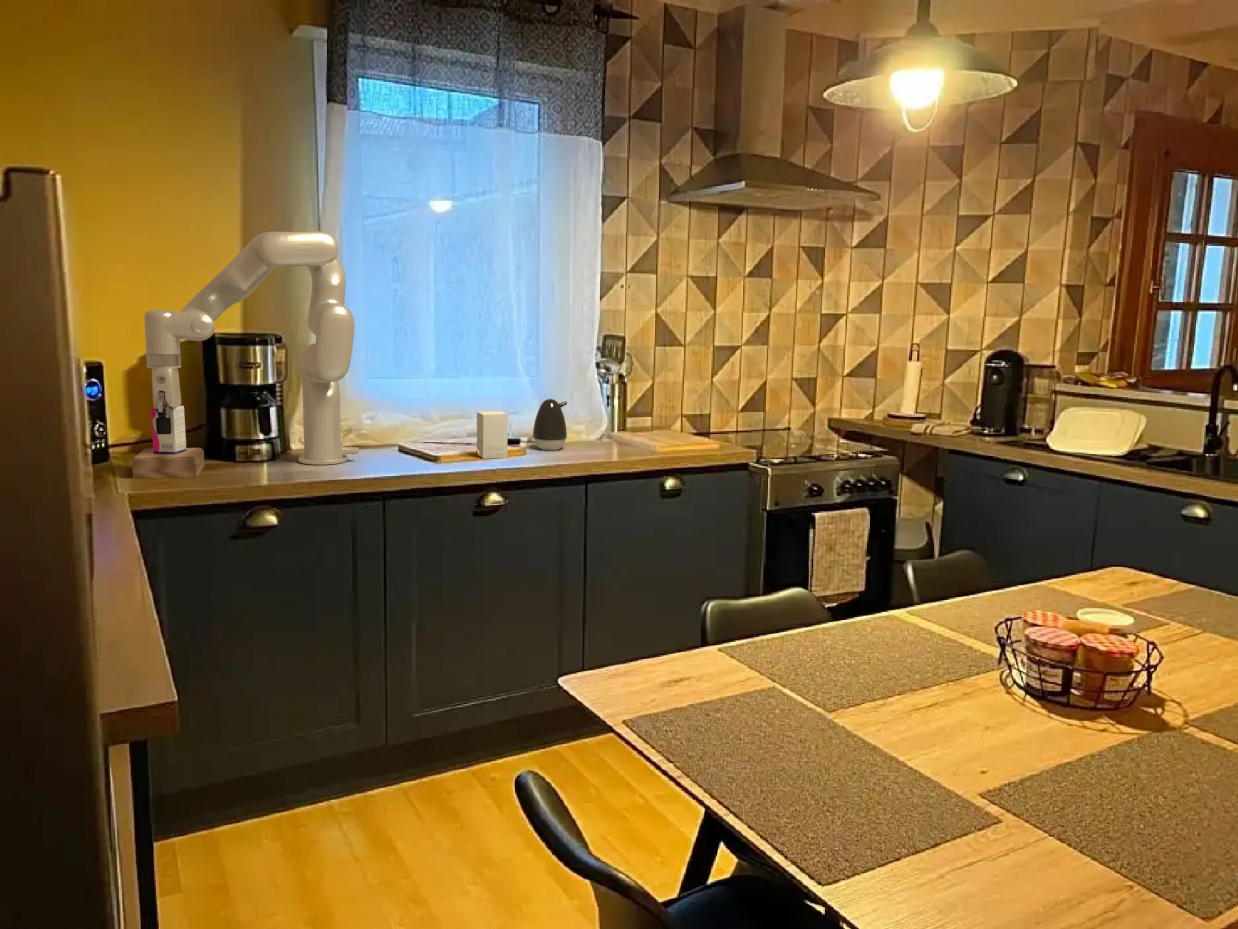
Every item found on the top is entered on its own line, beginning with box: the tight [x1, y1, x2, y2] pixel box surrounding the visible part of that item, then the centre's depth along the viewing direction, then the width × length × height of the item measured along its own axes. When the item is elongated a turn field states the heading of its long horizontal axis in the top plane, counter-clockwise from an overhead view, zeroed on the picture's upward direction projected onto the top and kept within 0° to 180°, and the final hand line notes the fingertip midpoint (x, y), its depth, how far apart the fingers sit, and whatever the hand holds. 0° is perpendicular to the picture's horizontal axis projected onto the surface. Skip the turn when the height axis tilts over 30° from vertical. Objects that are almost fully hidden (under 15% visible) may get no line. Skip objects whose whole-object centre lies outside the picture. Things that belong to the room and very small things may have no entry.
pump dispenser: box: [532, 398, 568, 452], centre depth 290 cm, size 10×10×15 cm
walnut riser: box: [131, 447, 205, 479], centre depth 239 cm, size 14×14×5 cm
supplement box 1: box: [150, 405, 187, 454], centre depth 238 cm, size 6×6×12 cm
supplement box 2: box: [476, 410, 509, 460], centre depth 274 cm, size 7×7×13 cm
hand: (167, 431), depth 238 cm, fingers open, 9 cm apart
